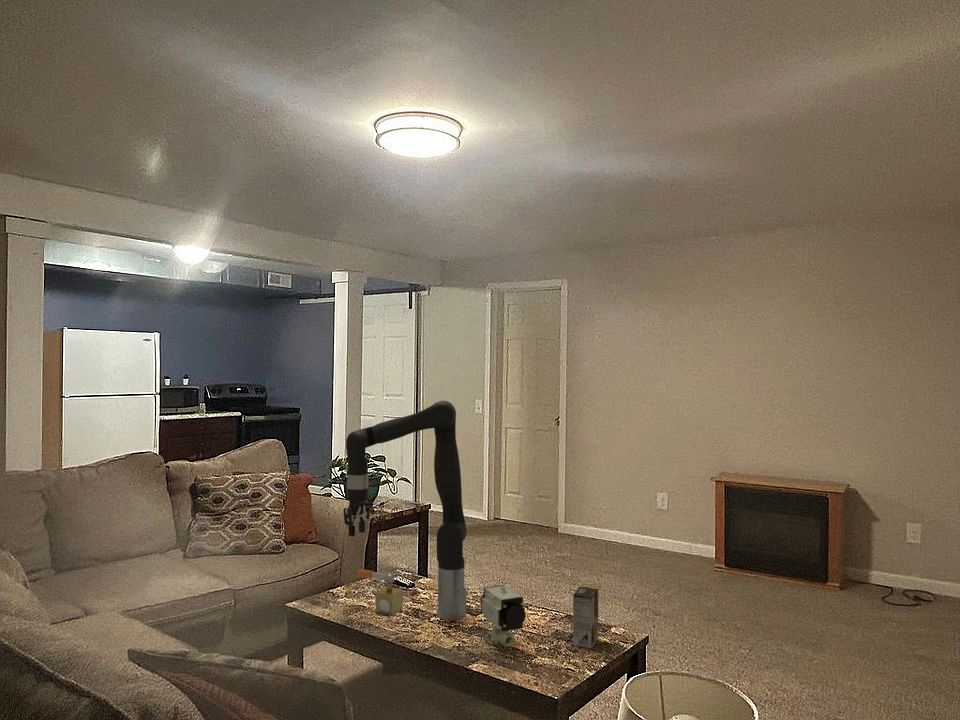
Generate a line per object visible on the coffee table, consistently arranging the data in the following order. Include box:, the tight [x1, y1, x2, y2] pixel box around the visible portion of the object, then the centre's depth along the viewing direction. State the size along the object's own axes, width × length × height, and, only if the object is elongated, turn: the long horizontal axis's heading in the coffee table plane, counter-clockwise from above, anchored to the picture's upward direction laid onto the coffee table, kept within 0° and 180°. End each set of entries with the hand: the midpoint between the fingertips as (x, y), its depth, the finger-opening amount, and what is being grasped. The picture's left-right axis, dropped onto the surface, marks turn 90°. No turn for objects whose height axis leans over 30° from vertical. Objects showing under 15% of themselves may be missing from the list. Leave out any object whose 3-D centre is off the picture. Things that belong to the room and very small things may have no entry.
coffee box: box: [572, 586, 599, 649], centre depth 227 cm, size 9×6×16 cm
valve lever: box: [356, 568, 395, 583], centre depth 255 cm, size 15×3×2 cm, turn 66°
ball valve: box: [480, 584, 526, 648], centre depth 225 cm, size 18×8×18 cm, turn 25°
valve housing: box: [374, 582, 404, 616], centre depth 253 cm, size 7×9×10 cm
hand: (357, 534), depth 252 cm, fingers open, 5 cm apart
